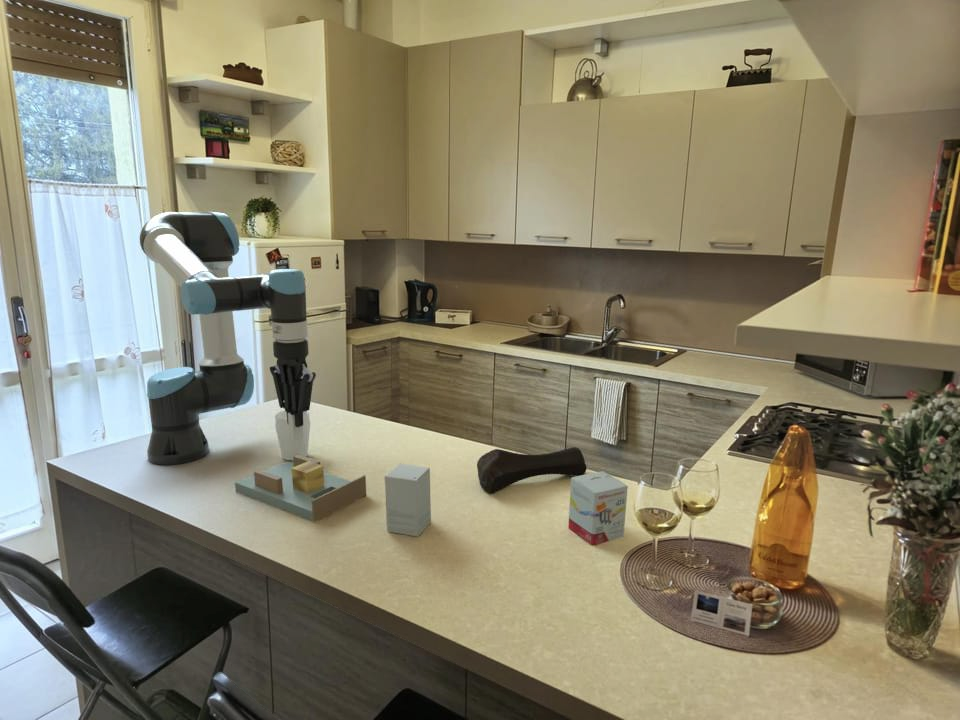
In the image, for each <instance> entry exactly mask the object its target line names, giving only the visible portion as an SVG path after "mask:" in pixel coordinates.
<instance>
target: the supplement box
mask: <svg viewBox="0 0 960 720" xmlns="http://www.w3.org/2000/svg"><path fill="white" fill-rule="evenodd" d="M430 468H431V467H429V466H419V465H412V464H404V463H399V464H397V465H396V466H395V467H394V468H393V469H392V470H390V471H389V472H388V473H387V474H386V475H384V486H385V487H384V489H385V512H386V513H385V514H386V517H385V518H386V531H387V532H388V533H394V534H400V535H406V536H412V537H416V538H417V537H419V536H420V535H421V534H422V533H423V532H424V530H425V529H426V528H427V527H428V526H429V525H430V523H431V521H432V508H431V507H432V505H431V469H430ZM421 532H422V533H421Z"/></svg>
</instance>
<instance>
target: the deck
mask: <svg viewBox="0 0 960 720" xmlns="http://www.w3.org/2000/svg"><path fill="white" fill-rule="evenodd" d="M308 461H309V462H312V463H316V464H319V465H321V461H320V460H316V459H313V458H310V457H307V456H306V457H304V456H301V455H295V456H293V461H289V460H286V461H285V462H283V463H280V464H278V465H275V466H273V467H270V468H268V469H265V470H261V469H257V470H255V471H253V474H252V475H250V476H248V477H244V478H242V479H240V480H238V481H235V482H234V488H235V492H236V493H238V494H241V495H243V496H245V497H248V498H251V499H252V500H256V501H259V502H261V503H263V504H266V505H269V506H271V507H274V508H277V509H279V510H281V511H284V512H287V513H290V514H292V515H294V516H297V517H299V518H302V519H305V520H308V521H310V522H313V523H316V522H318V521H320V520H322V519H323V518H326V517H327V516H329V515H331V514H333V513H335V512H337V511H339V510H341V509H343V508H346V507H347V506H349V505H351V504H353V503H355V502H356V501H358V500H361V499H363V498H364V497H366V496H367V482H366V481H367V480H366V479H367V477H366V475H365V474H364V475H362V476H359V477H357V478H355V479H353V480H349V479H345V478H343V477H339V476H337V475H333V474H330V473H327V472H324V486H323V487H321V488H318V489H316V490H314V491H312V492H310V493H305V492H302V491H299V490H297V489H294V488H293V482H292V468H293V467H296V466H298V465H300V464H303V463H305V462H308Z"/></svg>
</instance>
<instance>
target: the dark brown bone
mask: <svg viewBox="0 0 960 720" xmlns="http://www.w3.org/2000/svg"><path fill="white" fill-rule="evenodd" d="M476 469H477V478H478V480H479V485H480V487H481V489H482V490H483V491H484V492H486V493H488V494H489V495H493V494H496V493H498V492H501V491H502V490H504V489H505V488H507V487H509V486H511V485H513V484H515V483H517V482H520V481H523V480H525V479H529V478H533V477H538V476H546V475H563V476H572V477H576V476H581V475H586V471H587V464H586V461H585V457H584V455H583V453H582V450H581V449H580V448H579V447H577V446H576V447H569V448H566V449H561V450H559V451H553V452H548V453H540V454H525V453H524V454H523V453H518V452H511V451H508V450H504V449H500V448H495V449H492V450H490V451H488V452H486V453H484V454H483V455H481V456H480V457H479V459H478V460H477V463H476Z"/></svg>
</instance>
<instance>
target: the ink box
mask: <svg viewBox="0 0 960 720" xmlns="http://www.w3.org/2000/svg"><path fill="white" fill-rule="evenodd" d="M628 487H629V486H628V485H627V484H625V483H624V482H622V481H621V480H619V479H617V478H615V477H614V476H612V475H610V474H609V473H607V472H605V471H603V470H601V471H596V472H592V473H585V474H584V475H581V476H572V477H571V479H570V492H569V493H570V494H569V495H570V496H569V510H568V511H569V512H568V527H567V528H568V529H569V530H570V531H571V532H572V533H573V534H575V535H577V537H579V538H581V539H582V540H583V541H584V542H586V543H588V544H589V545H590V546H592V547H594V546H597V545H600V544H604V543H606V542H610V541H614V540H616V539H620V538H624V536H625V525H626V523H625V522H626V513H627V498H628Z"/></svg>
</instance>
